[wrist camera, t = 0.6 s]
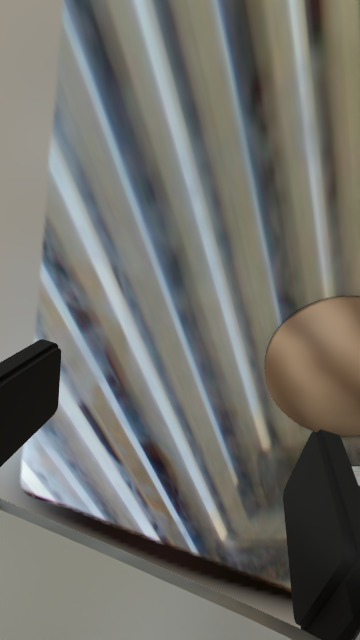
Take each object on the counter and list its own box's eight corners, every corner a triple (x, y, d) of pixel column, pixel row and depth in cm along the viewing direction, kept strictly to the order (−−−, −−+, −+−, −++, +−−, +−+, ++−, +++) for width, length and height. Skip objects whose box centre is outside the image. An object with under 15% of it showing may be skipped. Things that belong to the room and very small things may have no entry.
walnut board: (342, 263, 33) (346, 265, 31) (467, 364, 33) (476, 371, 31) (235, 368, 40) (235, 374, 38) (339, 451, 40) (342, 459, 39)
